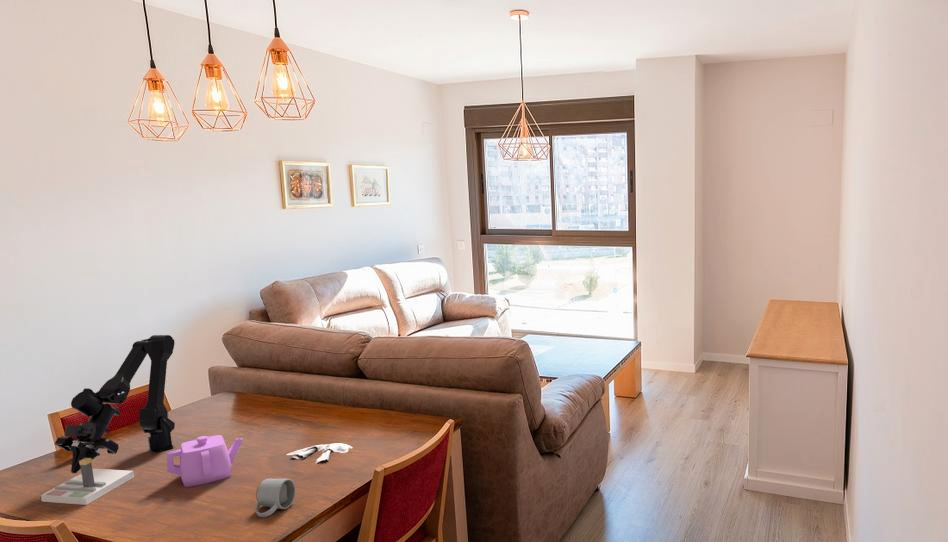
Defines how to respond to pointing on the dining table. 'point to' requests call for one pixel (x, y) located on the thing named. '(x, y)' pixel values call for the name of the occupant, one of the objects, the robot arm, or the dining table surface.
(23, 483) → the dining table surface
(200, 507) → the dining table surface
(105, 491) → the switch board
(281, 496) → the ceramic mug
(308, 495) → the dining table surface
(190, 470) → the teakettle
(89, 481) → the knob
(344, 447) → the cloth
